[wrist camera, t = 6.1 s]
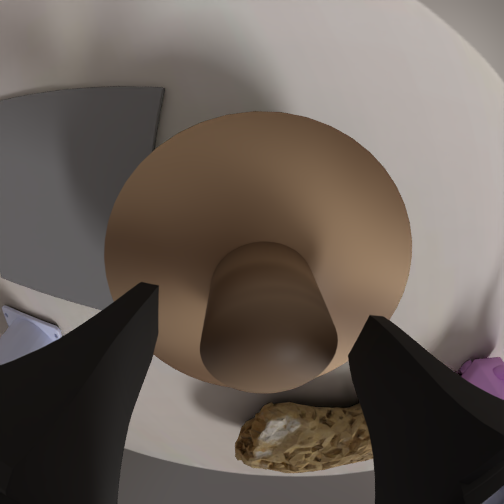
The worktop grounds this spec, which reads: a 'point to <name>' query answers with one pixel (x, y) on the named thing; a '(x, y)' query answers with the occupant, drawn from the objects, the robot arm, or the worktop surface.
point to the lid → (260, 248)
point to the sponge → (304, 438)
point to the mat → (68, 183)
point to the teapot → (486, 375)
